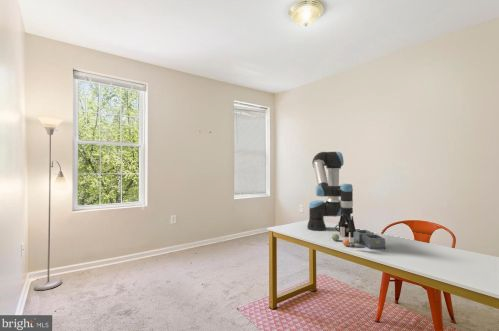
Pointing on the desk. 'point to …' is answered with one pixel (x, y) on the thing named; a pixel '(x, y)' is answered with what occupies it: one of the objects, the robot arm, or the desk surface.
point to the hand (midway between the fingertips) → (346, 239)
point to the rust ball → (346, 242)
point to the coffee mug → (345, 229)
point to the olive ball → (335, 237)
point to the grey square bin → (360, 235)
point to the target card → (357, 244)
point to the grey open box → (373, 241)
